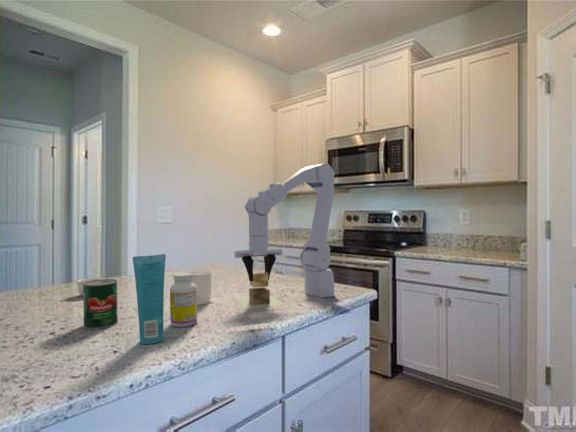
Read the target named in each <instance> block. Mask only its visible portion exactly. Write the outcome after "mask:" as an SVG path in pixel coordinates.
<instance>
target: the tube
mask: <svg viewBox="0 0 576 432" xmlns="http://www.w3.org/2000/svg"><path fill="white" fill-rule="evenodd" d="M166 256H167V255H166V254H165V253H163V254H161V253H160V254H153V255H138V256H132V263H133V271H134V280H135V292H136V301H137V313H138V314H137V315H138V328H139V342H140V344H143V345H151V344H152V345H153V344H157V343H159V342H160V343H161V342H162V341H163V340H164V305H165V304H164V302H165V301H164V297H165V295H164V294H165V273H166V272H165V271H166V258H167V257H166Z"/></svg>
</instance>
